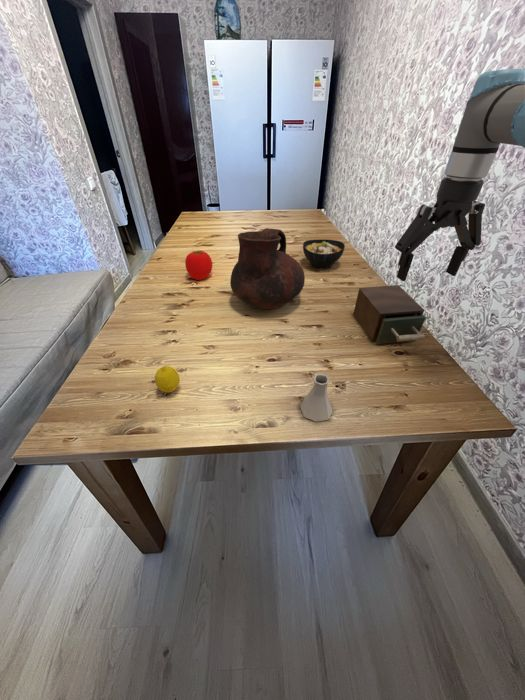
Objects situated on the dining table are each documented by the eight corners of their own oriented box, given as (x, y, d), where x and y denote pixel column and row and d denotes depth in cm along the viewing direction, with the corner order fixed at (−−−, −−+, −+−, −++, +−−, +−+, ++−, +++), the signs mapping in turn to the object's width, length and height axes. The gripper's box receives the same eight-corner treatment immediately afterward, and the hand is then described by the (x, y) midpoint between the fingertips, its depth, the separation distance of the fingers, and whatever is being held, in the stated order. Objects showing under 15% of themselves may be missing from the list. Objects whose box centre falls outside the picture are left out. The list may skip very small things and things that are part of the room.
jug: (315, 296, 104) (323, 224, 88) (276, 329, 88) (278, 250, 72) (260, 278, 115) (258, 212, 99) (217, 305, 100) (208, 232, 84)
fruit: (173, 378, 73) (166, 355, 68) (187, 389, 70) (180, 365, 65) (154, 391, 70) (145, 368, 64) (168, 402, 67) (160, 379, 62)
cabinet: (413, 338, 84) (424, 310, 78) (371, 342, 83) (380, 313, 77) (389, 311, 95) (398, 284, 89) (353, 314, 94) (359, 287, 88)
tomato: (183, 281, 114) (177, 255, 107) (194, 270, 122) (189, 245, 115) (207, 284, 112) (203, 257, 105) (217, 272, 120) (213, 247, 113)
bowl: (303, 256, 132) (305, 234, 125) (341, 258, 129) (344, 236, 123) (299, 272, 119) (301, 248, 113) (341, 275, 116) (345, 251, 110)
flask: (300, 395, 68) (304, 365, 61) (331, 398, 67) (338, 368, 61) (299, 420, 62) (303, 390, 56) (333, 424, 62) (340, 393, 55)
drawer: (425, 351, 78) (436, 328, 73) (385, 355, 77) (394, 332, 72) (393, 314, 92) (401, 293, 87) (359, 317, 91) (364, 295, 86)
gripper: (502, 171, 61) (460, 265, 75) (396, 177, 58) (372, 274, 72) (533, 177, 56) (481, 278, 69) (418, 184, 53) (387, 288, 66)
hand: (425, 276), depth 71 cm, fingers open, 13 cm apart
